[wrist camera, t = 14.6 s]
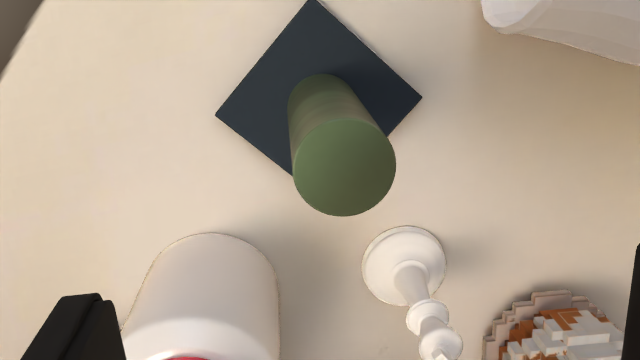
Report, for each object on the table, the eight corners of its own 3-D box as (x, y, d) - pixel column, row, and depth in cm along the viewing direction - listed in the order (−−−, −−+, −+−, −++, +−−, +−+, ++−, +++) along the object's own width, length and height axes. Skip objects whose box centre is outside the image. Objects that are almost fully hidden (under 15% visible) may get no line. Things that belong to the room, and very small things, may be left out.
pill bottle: (250, 365, 34) (239, 530, 24) (126, 326, 33) (57, 485, 22) (299, 259, 32) (311, 390, 22) (169, 213, 30) (115, 330, 20)
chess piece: (408, 209, 31) (464, 304, 22) (460, 264, 33) (535, 376, 23) (343, 264, 32) (371, 379, 23) (397, 315, 34) (445, 443, 24)
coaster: (215, 112, 29) (214, 115, 28) (311, -5, 27) (311, -4, 27) (325, 199, 31) (326, 203, 30) (420, 95, 29) (423, 97, 29)
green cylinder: (272, 112, 28) (270, 175, 19) (318, 58, 28) (340, 95, 18) (325, 155, 29) (348, 236, 20) (371, 104, 29) (417, 162, 19)
